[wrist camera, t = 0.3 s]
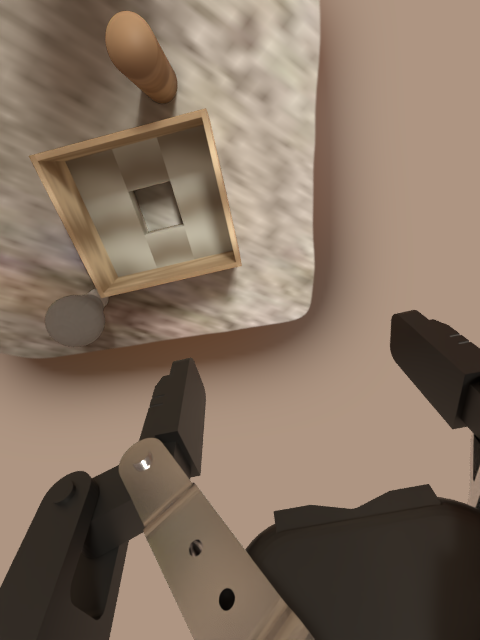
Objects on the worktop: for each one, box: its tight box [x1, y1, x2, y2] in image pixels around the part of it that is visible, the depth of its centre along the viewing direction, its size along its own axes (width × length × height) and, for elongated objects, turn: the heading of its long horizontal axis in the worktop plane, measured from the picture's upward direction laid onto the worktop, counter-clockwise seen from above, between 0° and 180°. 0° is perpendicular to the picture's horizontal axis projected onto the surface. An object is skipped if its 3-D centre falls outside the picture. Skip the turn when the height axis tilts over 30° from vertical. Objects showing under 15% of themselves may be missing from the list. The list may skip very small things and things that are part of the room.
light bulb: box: [45, 289, 108, 347], centre depth 34 cm, size 6×6×10 cm
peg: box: [105, 11, 177, 104], centre depth 24 cm, size 3×3×10 cm
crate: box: [29, 108, 242, 298], centre depth 31 cm, size 14×16×7 cm
